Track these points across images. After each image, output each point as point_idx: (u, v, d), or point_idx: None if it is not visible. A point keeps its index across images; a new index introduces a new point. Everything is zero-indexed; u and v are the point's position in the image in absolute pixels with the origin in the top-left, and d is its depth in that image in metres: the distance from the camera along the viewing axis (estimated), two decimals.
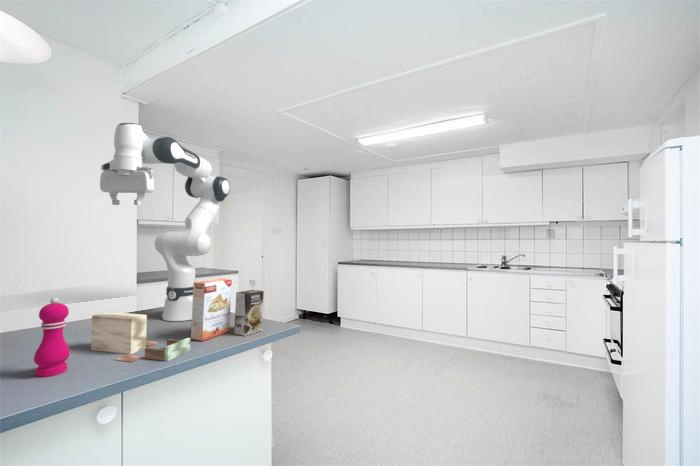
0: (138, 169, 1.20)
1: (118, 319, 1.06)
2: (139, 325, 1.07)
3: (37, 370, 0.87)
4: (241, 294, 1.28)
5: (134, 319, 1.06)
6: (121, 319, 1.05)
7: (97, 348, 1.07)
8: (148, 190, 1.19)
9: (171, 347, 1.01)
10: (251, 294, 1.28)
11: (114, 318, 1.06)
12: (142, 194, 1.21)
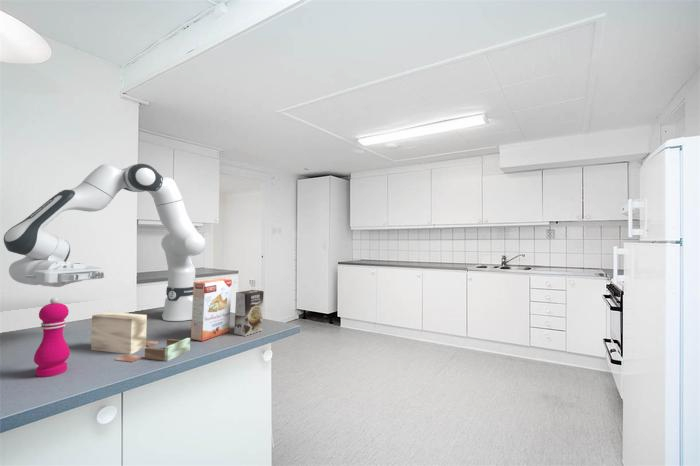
0: None
1: (118, 319, 1.06)
2: (139, 325, 1.07)
3: (37, 370, 0.87)
4: (241, 294, 1.28)
5: (134, 319, 1.06)
6: (121, 319, 1.05)
7: (97, 348, 1.07)
8: (46, 280, 1.03)
9: (171, 347, 1.01)
10: (251, 294, 1.28)
11: (114, 318, 1.06)
12: (60, 276, 1.06)
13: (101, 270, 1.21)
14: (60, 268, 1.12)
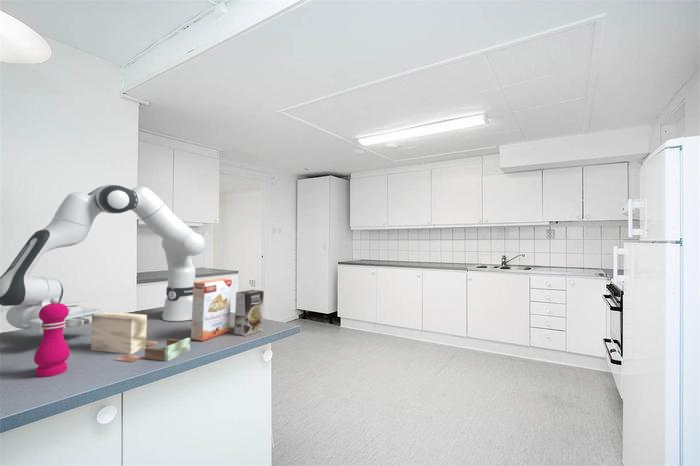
0: None
1: (118, 319, 1.06)
2: (139, 325, 1.07)
3: (37, 370, 0.87)
4: (241, 294, 1.28)
5: (134, 319, 1.06)
6: (121, 319, 1.05)
7: (97, 348, 1.07)
8: (41, 330, 1.03)
9: (171, 347, 1.01)
10: (251, 294, 1.28)
11: (114, 318, 1.06)
12: (69, 322, 1.10)
13: (98, 312, 1.20)
14: None
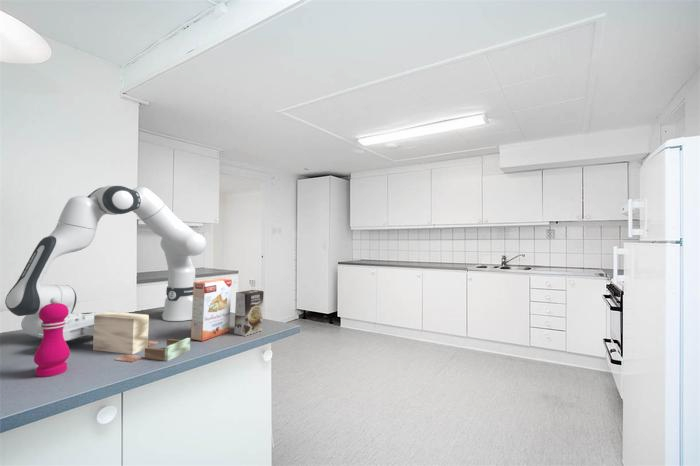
0: None
1: (120, 319, 1.05)
2: (141, 325, 1.07)
3: (37, 370, 0.87)
4: (241, 294, 1.28)
5: (136, 319, 1.05)
6: (123, 319, 1.05)
7: (99, 348, 1.07)
8: None
9: (171, 347, 1.01)
10: (251, 294, 1.28)
11: (116, 318, 1.06)
12: (85, 330, 1.09)
13: None
14: (72, 322, 1.11)
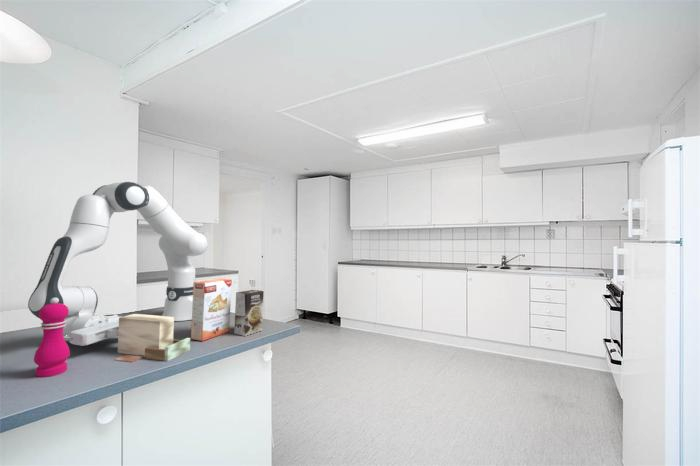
0: None
1: (146, 321, 1.03)
2: (166, 327, 1.05)
3: (37, 370, 0.87)
4: (241, 294, 1.28)
5: (162, 321, 1.03)
6: (149, 321, 1.03)
7: (124, 351, 1.05)
8: (83, 342, 1.00)
9: (171, 347, 1.01)
10: (251, 294, 1.28)
11: (142, 320, 1.04)
12: (109, 332, 1.07)
13: None
14: (96, 324, 1.09)
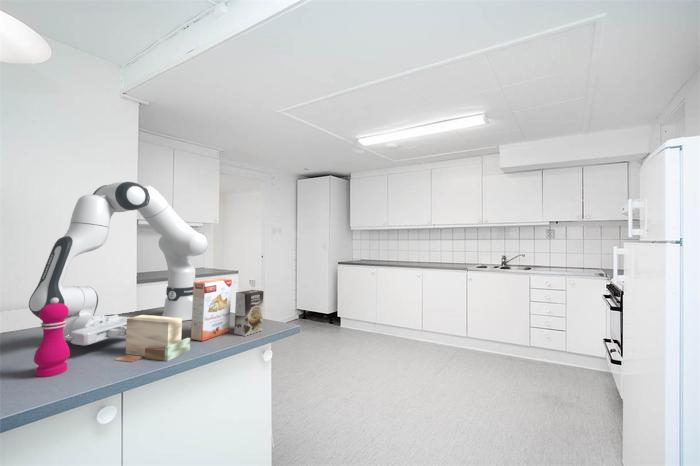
0: None
1: (154, 322, 1.03)
2: (175, 328, 1.05)
3: (37, 370, 0.87)
4: (241, 294, 1.28)
5: (170, 322, 1.03)
6: (157, 322, 1.03)
7: (132, 352, 1.04)
8: (85, 342, 1.00)
9: (171, 347, 1.01)
10: (251, 294, 1.28)
11: (150, 321, 1.03)
12: (110, 332, 1.07)
13: None
14: (96, 324, 1.09)
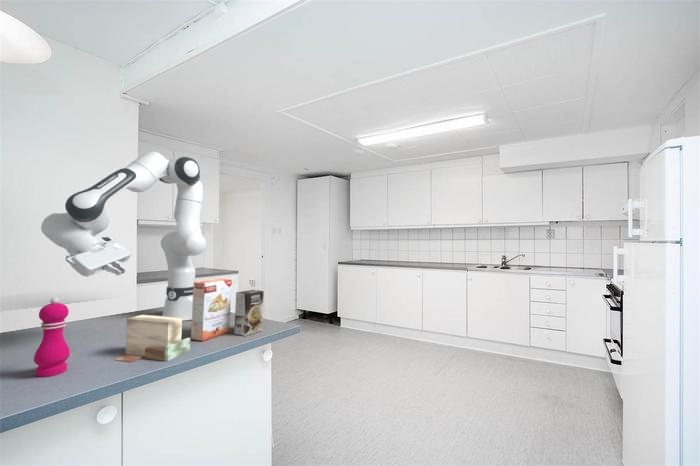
0: None
1: (154, 322, 1.03)
2: (174, 328, 1.05)
3: (37, 370, 0.87)
4: (241, 294, 1.28)
5: (170, 322, 1.03)
6: (157, 322, 1.03)
7: (132, 352, 1.04)
8: (85, 274, 1.07)
9: (171, 347, 1.01)
10: (251, 294, 1.28)
11: (150, 321, 1.03)
12: (107, 267, 1.14)
13: (129, 256, 1.25)
14: (96, 251, 1.14)
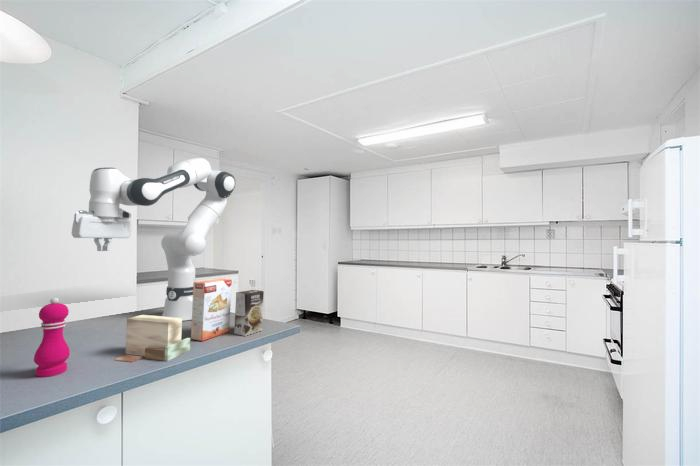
0: None
1: (154, 322, 1.03)
2: (174, 329, 1.05)
3: (37, 370, 0.87)
4: (241, 294, 1.28)
5: (170, 322, 1.03)
6: (157, 322, 1.03)
7: (132, 352, 1.04)
8: (74, 236, 1.10)
9: (171, 347, 1.01)
10: (251, 294, 1.28)
11: (150, 321, 1.03)
12: (97, 240, 1.17)
13: None
14: (104, 221, 1.18)
